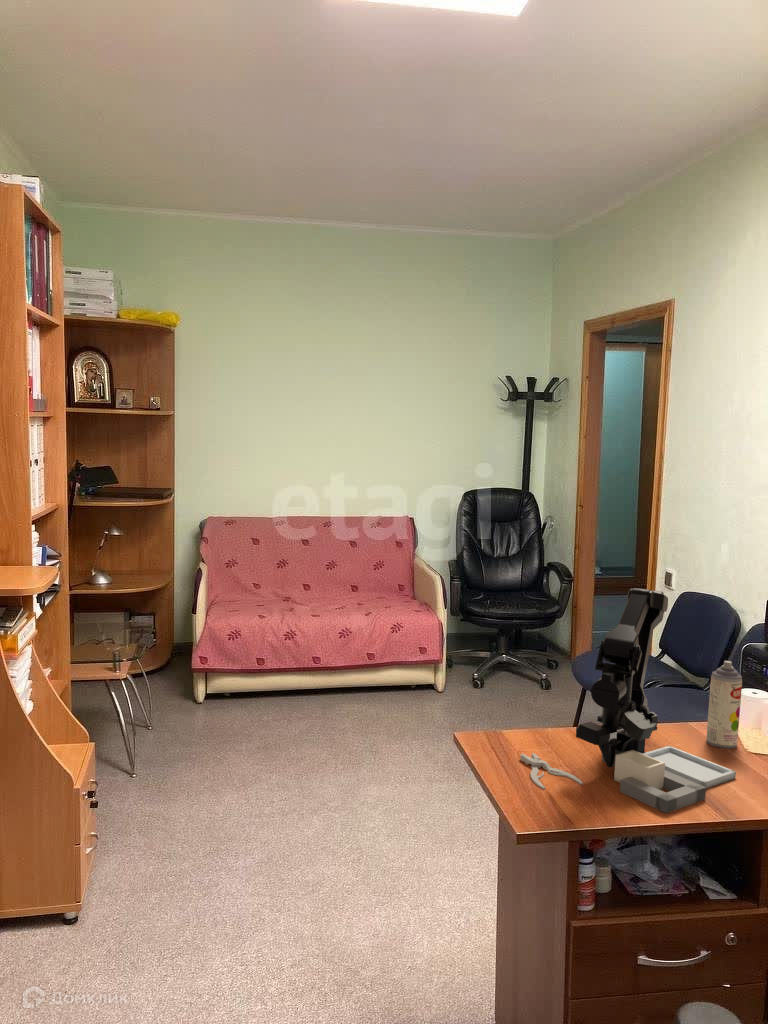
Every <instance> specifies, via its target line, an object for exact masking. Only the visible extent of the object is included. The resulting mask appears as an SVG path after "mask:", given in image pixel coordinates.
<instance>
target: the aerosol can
mask: <svg viewBox="0 0 768 1024" xmlns="http://www.w3.org/2000/svg"><path fill="white" fill-rule="evenodd" d="M742 678H743V676H742V675H741V674H740V673H739V672H738V670H736V668H735V667H734V666H733V662H732V661H731V660H724V661H723V665H721V666H720V667H717V669H716V670H713V671H712V674H711V676H710V689H709V701H708V713H707V726H706V739H705V741H706V743H707V744H709V745H711V746H713V747H715V748H719V749H726V750H732V749H736V748H738V747H737V746H738V737H739V725H740V716H741V715H740V712H741V701H742V700H741V699H742V688H743V679H742Z"/></svg>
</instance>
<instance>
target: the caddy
mask: <svg viewBox="0 0 768 1024" xmlns="http://www.w3.org/2000/svg"><path fill="white" fill-rule="evenodd" d="M601 755H602V754H601ZM601 761H602V762H604V763H606V762H605V760H604V758H603V755H602V756H601ZM612 767H614V776H613V778H614V779H613V781H615V782H616V783H619V784H620V781H621V779H624V778H628V777H632V778H634V779H637V780H639V781H641V782H643V783H645V784H648V785H650V786H652V787H654V788H657V789H659V790H661V791H662V790H663V789H664V788H663V785H664V771H665V763H664V762H662V761H659V760H657V759H655V758H652V757H650V756H647V755H645V754H642V753H640V752H637V751H635V750H630V751H627V752H621V751H619V750H616V749H615V754H614V761H613V765H612Z"/></svg>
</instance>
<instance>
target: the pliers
mask: <svg viewBox="0 0 768 1024" xmlns="http://www.w3.org/2000/svg"><path fill="white" fill-rule="evenodd" d="M519 759H521V760H520V761H521V762H523V761H524V762H525V763H524V762H523V763H524V764H526V765H527V764H530V768H531V771H530V774H529V776H530V779H531V781H532V782H533V783H534V784H535V785H536V786H537V787H538V788H540V789H542V790H545V789H546V786H544V784H542V782H541V781H540V779H542V778H543V777H544V771H542V773H541V775H538V774H539V772H540V770H539V769H540V767H541V768H543V770H545V769H546V770H545V771H547V770H548V771H547V773H548V774H550V775H553V776H558V777H559V776H560V777H566V778H568V779H571V780H573V781H574V782H576V783H577V784H579V785H584V782H583V781H582V780H581V779H580V778H578V777H577V776H575V775H573V774H571V773H570V772H567V771H565V770H561V769H560V768H554V767H551V765H550V764H549V763H548V762H547V761H546V760H543V759H541V757H539V756H538V755H537V754H536V753H535V752H532V753H531V757H530V756H528V755H526V754H525V753H521V754H520V758H519Z"/></svg>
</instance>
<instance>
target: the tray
mask: <svg viewBox="0 0 768 1024" xmlns="http://www.w3.org/2000/svg"><path fill="white" fill-rule="evenodd" d="M645 752H646V753H643V754H645V755H647V756H650V757H652V758H655V759H657V760H659V761H662V762H664V763H665V770H666V771H668V772H671V773H673V774H675V775H678V776H680V777H682V778H685V779H687V780H690V781H692V782H694V783H697V784H699V785H701V786H704V787H706V790H707V789H708V788H709V789H710V788H712V787H714V786H718V785H721V784H723V783H726V782H729V781H731V780H735V779H736V775H737V773H736V772H737V771H736V770H734V769H731V768H727V767H725V766H723V765H720V764H717V763H715V762H713V761H709V760H708V759H705V758H703V757H700V756H697V755H695V754H692V753H689V752H687V751H684V750H681V749H679V748H677V747H674V746H672V745H668V746H667V745H666V746H663V747H660V748H656V749H653V750H650V751H645Z"/></svg>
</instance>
